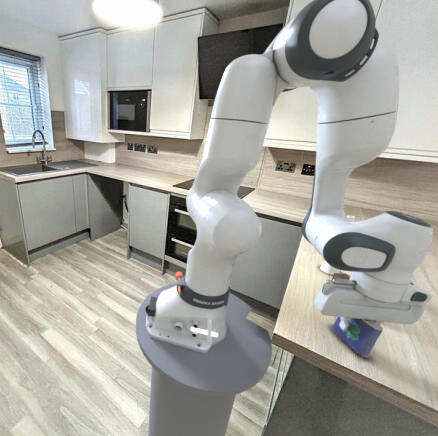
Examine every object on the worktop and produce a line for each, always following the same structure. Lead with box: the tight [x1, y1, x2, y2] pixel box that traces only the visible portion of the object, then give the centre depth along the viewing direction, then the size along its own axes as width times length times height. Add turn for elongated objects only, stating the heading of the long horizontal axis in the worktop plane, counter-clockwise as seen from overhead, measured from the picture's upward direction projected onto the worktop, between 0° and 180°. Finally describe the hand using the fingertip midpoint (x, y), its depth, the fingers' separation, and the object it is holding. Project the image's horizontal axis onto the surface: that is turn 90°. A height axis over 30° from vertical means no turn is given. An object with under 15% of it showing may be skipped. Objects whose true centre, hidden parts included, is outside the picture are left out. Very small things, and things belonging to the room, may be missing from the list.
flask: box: [331, 316, 384, 359], centre depth 57 cm, size 9×3×11 cm, turn 4°
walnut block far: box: [331, 272, 351, 280], centre depth 78 cm, size 4×4×4 cm
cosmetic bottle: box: [320, 214, 356, 276], centre depth 83 cm, size 6×6×22 cm
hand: (354, 329), depth 57 cm, fingers closed on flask, 3 cm apart
